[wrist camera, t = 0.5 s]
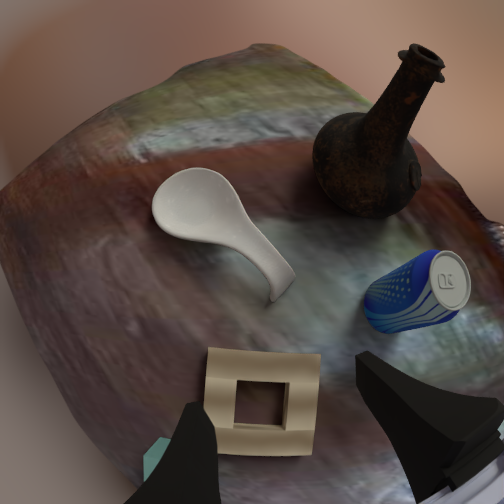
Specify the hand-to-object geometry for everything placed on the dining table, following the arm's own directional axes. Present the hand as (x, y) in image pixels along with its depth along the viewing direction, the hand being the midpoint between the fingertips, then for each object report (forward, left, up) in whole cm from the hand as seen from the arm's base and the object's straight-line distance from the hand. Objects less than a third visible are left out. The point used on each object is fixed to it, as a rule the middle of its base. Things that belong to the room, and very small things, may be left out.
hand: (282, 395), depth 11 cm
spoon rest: (+18, +5, -26) cm, 32 cm away
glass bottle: (+30, -16, -26) cm, 43 cm away
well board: (-5, -2, -26) cm, 26 cm away
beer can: (+9, -20, -26) cm, 34 cm away
